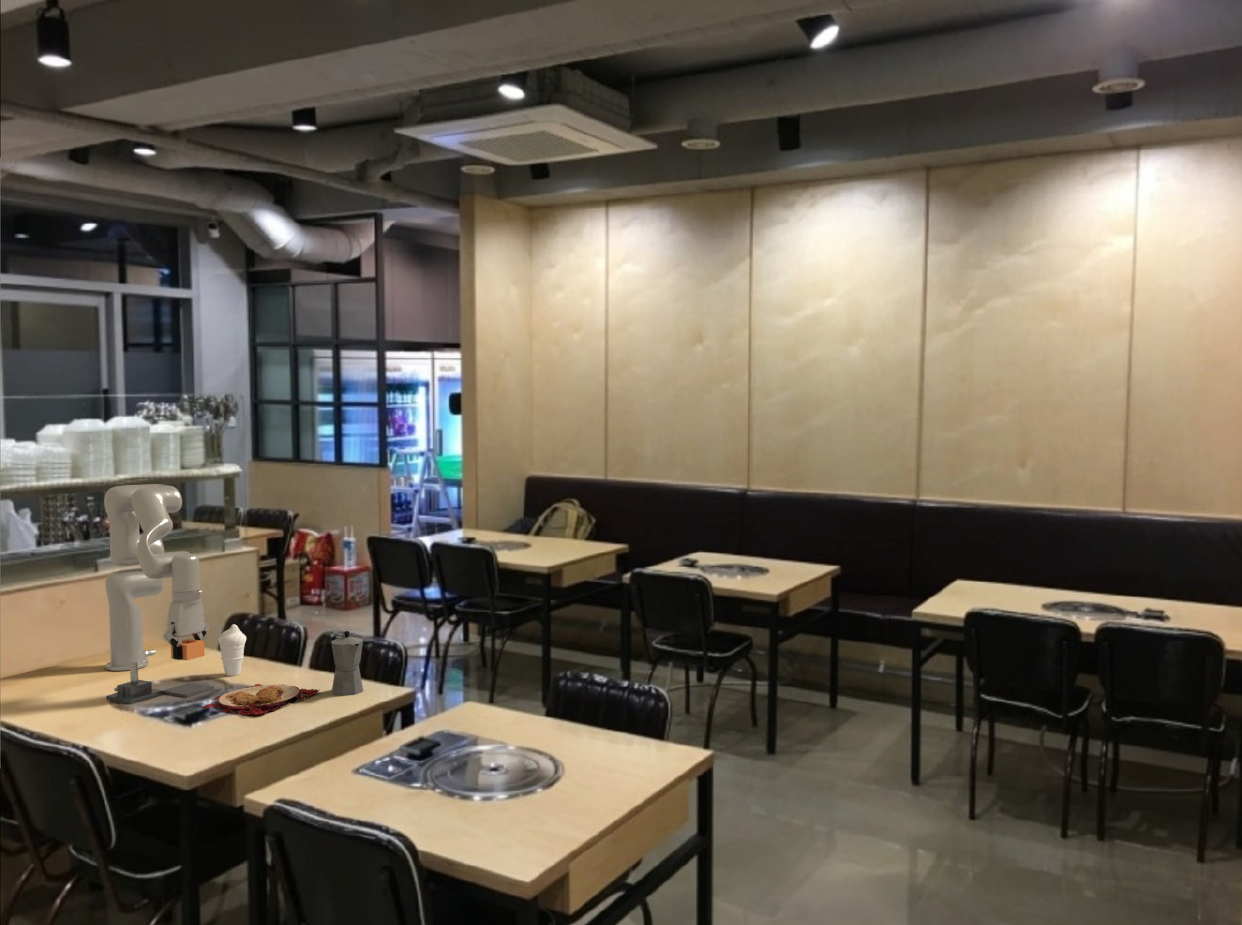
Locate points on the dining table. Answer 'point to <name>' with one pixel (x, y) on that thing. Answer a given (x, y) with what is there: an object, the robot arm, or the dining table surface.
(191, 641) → the orange square tube
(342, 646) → the coffeepot
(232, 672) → the soft serve ice cream cone
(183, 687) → the mat
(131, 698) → the grey peg stand
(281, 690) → the plate with food
